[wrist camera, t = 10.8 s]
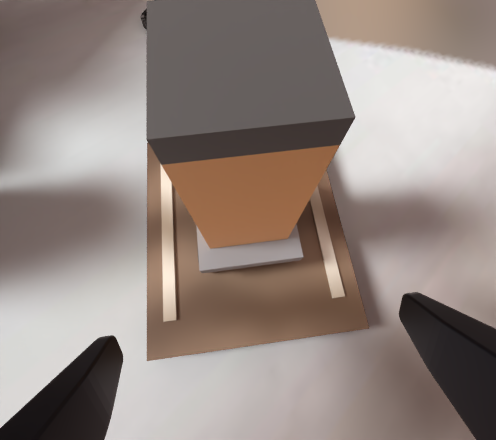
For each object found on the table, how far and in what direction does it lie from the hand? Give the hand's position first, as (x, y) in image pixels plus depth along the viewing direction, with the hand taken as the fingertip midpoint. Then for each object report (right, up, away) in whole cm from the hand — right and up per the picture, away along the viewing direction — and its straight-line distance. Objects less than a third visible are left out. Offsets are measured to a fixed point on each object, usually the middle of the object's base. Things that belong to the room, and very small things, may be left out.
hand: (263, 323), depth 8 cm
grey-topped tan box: (-1, +3, +11) cm, 11 cm away
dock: (-1, +2, +12) cm, 13 cm away
